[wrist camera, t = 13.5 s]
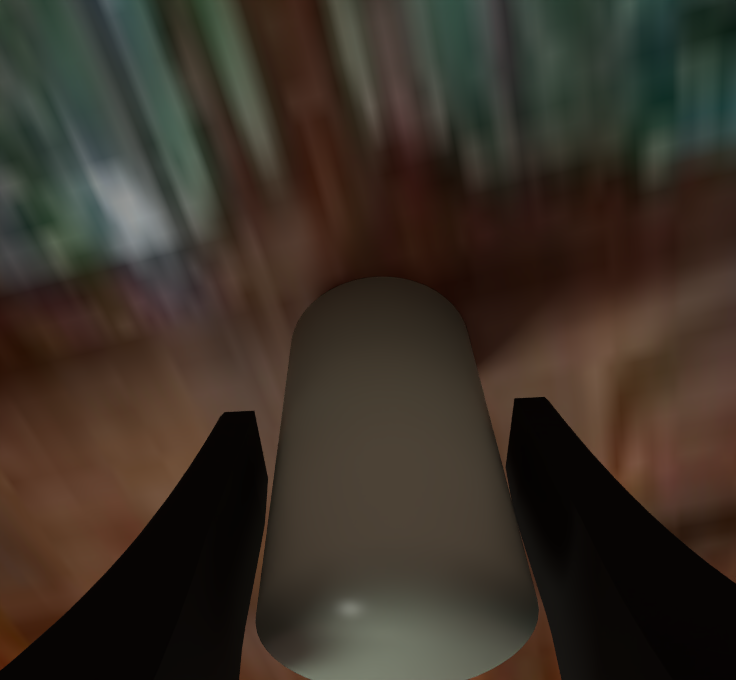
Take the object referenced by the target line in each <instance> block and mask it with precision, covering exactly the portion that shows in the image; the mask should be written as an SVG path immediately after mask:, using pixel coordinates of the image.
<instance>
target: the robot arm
mask: <svg viewBox="0 0 736 680" xmlns="http://www.w3.org/2000/svg"><path fill="white" fill-rule="evenodd" d="M506 472H507V478H508V483H509V489H510V494H511V499H512V504H513V508H514V512H515V516H516V520H517V523H518V527H519V530H520V533H521V536H522V539H523V543H524V546H525V549H526V552H527V555H528V558H529V561H530V565H531V568H532V571H533V574H534V577H535V580H536V583H537V587H538V590H539V593H540V596H541V599H542V602H543V605H544V608H545V612H546V615H547V619H548V622H549V626H550V630H551V633H552V637H553V642H554V647H555V651H556V656H557V660H558V665H559V670H560V674H561V679H562V680H736V584H735V583H734V582H733V581H731V580H730V579H729V578H727V577H726V576H725V575H723V574H722V573H721V572H719V571H718V570H716V569H715V568H714V567H712V566H711V565H710V564H708V563H707V562H706V561H705V560H703V559H702V558H701V557H700V556H698V555H697V554H696V553H695V552H693V551H692V550H691V549H690V548H689V547H687V546H686V545H685V544H684V543H683V542H682V541H680V540H679V539H678V538H677V537H676V536H675V535H673V534H672V533H671V532H670V531H669V530H668V529H666V528H665V527H664V526H663V525H662V524H661V523H660V522H659V521H658V520H657V519H656V518H654V517H653V516H652V515H651V514H650V513H649V512H648V511H647V510H646V509H645V508H644V507H643V506H642V505H641V504H640V503H639V502H638V501H637V500H636V499H635V498H634V497H633V496H632V495H631V494H630V493H629V492H628V491H627V490H626V489H625V488H624V487H623V486H622V485H621V484H620V483H619V482H618V481H617V480H616V479H615V478H614V477H613V476H612V475H611V474H610V472H609V471H608V470H607V469H606V468H605V467H604V466H603V465H602V464H601V463H600V462H599V460H598V459H597V458H596V457H595V456H594V455H593V454H592V453H591V452H590V450H589V449H588V448H587V447H586V446H585V445H584V443H583V442H582V441H581V440H580V439H579V438H578V436H577V435H576V434H575V433H574V432H573V430H572V429H571V428H570V427H569V426H568V424H567V423H566V422H565V421H564V419H563V418H562V417H561V416H560V414H559V413H558V412H557V411H556V409H555V408H554V407H553V406H552V404H551V403H550V402H549V401H548V400H547V399H546V398H545V397H534V398H515V399H514V407H513V414H512V422H511V430H510V437H509V445H508V453H507V460H506ZM267 485H268V476H267V471H266V466H265V461H264V456H263V451H262V446H261V442H260V437H259V432H258V427H257V422H256V417H255V412H254V411H239V412H224V413H223V414H222V415H221V416H220V418H219V420H218V421H217V423H216V425H215V427H214V428H213V430H212V432H211V433H210V435H209V437H208V438H207V440H206V442H205V443H204V445H203V446H202V448H201V450H200V451H199V453H198V454H197V456H196V457H195V459H194V460H193V462H192V464H191V465H190V467H189V468H188V469H187V471H186V472H185V474H184V475H183V477H182V478H181V480H180V481H179V482H178V484H177V485H176V487H175V488H174V490H173V491H172V493H171V494H170V495H169V497H168V498H167V500H166V501H165V502H164V503H163V505H162V506H161V507H160V509H159V510H158V511H157V513H156V514H155V515H154V516H153V518H152V519H151V520H150V522H149V523H148V524H147V526H146V527H145V528H144V529H143V531H142V532H141V533H140V534H139V536H138V537H137V538H136V539H135V540H134V542H133V543H132V544H131V545H130V546H129V547H128V549H127V550H126V551H125V552H124V553H123V554H122V555H121V557H120V558H119V559H118V560H117V561H116V562H115V563H114V564H113V565H112V567H111V568H110V569H109V570H108V571H107V572H106V573H105V574H104V575H103V576H102V577H101V578H100V579H99V580H98V581H97V582H96V583H95V584H94V586H93V587H92V588H91V589H90V590H89V591H88V592H87V593H86V594H85V595H84V596H83V597H82V598H81V599H80V600H79V601H78V602H77V603H76V604H75V605H74V606H73V607H72V608H71V609H70V610H69V611H68V612H66V613H65V614H64V615H63V616H62V617H61V618H60V619H59V620H58V621H57V622H56V623H55V624H53V625H52V626H51V627H50V628H49V629H48V630H47V631H46V632H44V633H43V634H42V635H41V636H40V637H39V638H38V639H37V640H35V641H34V642H33V643H32V644H31V645H30V646H29V647H27V648H26V649H25V650H24V651H23V652H22V653H21V654H20V655H18V656H17V657H16V658H15V659H14V660H13V661H11V662H10V663H9V664H8V665H7V666H5V667H4V668H3V669H2V670H1V671H0V680H239V674H240V663H241V653H242V645H243V638H244V632H245V625H246V620H247V615H248V610H249V605H250V599H251V594H252V589H253V584H254V579H255V573H256V568H257V563H258V558H259V552H260V547H261V542H262V536H263V531H264V525H265V514H266V501H267Z"/></svg>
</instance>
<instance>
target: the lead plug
mask: <svg viewBox="0 0 736 680" xmlns="http://www.w3.org/2000/svg"><path fill="white" fill-rule="evenodd" d="M538 611H539V609H538V602H537V597H536V593H535V589H534V586H533V582H532V578H531V574H530V570H529V566H528V562H527V559H526V555H525V551H524V547H523V543H522V539H521V535H520V532H519V528H518V524H517V520H516V516H515V512H514V508H513V505H512V501H511V497H510V493H509V489H508V485H507V482H506V478H505V474H504V470H503V466H502V462H501V458H500V455H499V451H498V447H497V443H496V439H495V435H494V431H493V428H492V424H491V420H490V416H489V412H488V408H487V405H486V401H485V397H484V393H483V389H482V385H481V381H480V378H479V374H478V370H477V366H476V362H475V358H474V354H473V351H472V347H471V343H470V339H469V335H468V331H467V328H466V326H465V323H464V321H463V319H462V317H461V315H460V313H459V312H458V311H457V310H456V308H455V307H454V306H453V305H452V304H451V303H450V302H449V301H448V300H447V299H446V298H445V297H444V296H442V295H441V294H440V293H438V292H437V291H435V290H433V289H431V288H429V287H428V286H426V285H423V284H420V283H418V282H415V281H411V280H407V279H403V278H396V277H369V278H362V279H358V280H353V281H350V282H347V283H344V284H341V285H339V286H337V287H335V288H333V289H331V290H329V291H328V292H326V293H325V294H323V295H321V296H320V297H319V298H318V299H316V300H315V301H314V302H313V303H312V304H311V305H310V306H309V307H308V308H307V309H306V310H305V312H304V313H303V315H302V316H301V318H300V319H299V321H298V323H297V325H296V327H295V329H294V333H293V336H292V341H291V349H290V356H289V364H288V372H287V380H286V387H285V395H284V403H283V411H282V418H281V426H280V434H279V442H278V449H277V457H276V465H275V473H274V480H273V488H272V496H271V504H270V511H269V519H268V527H267V535H266V542H265V550H264V558H263V566H262V573H261V581H260V589H259V597H258V604H257V612H256V628H257V633H258V636H259V638H260V640H261V642H262V644H263V645H264V647H265V648H266V650H267V651H268V652H269V653H270V654H271V655H272V656H273V657H274V658H275V659H276V660H277V661H279V662H280V663H281V664H282V665H284V666H285V667H287V668H289V669H290V670H292V671H294V672H295V673H298V674H300V675H302V676H304V677H306V678H309V679H312V680H467V679H470V678H472V677H475V676H478V675H480V674H482V673H484V672H487V671H489V670H491V669H493V668H494V667H496V666H498V665H500V664H501V663H503V662H504V661H506V660H507V659H509V658H510V657H512V656H513V655H514V654H515V653H516V652H517V651H518V650H519V649H521V648H522V646H523V645H524V644H525V643H526V642H527V641H528V639H529V638H530V636H531V634H532V633H533V631H534V629H535V626H536V623H537V620H538Z"/></svg>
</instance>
